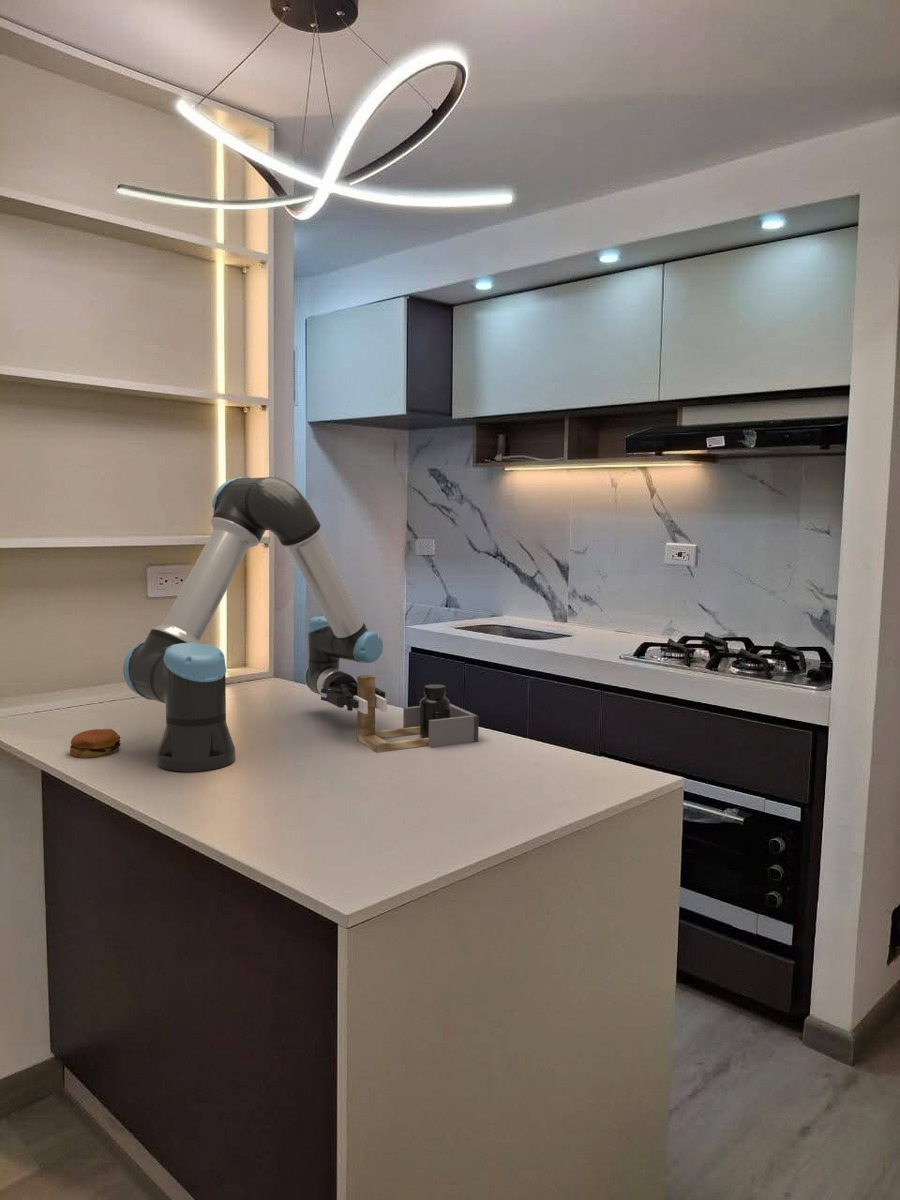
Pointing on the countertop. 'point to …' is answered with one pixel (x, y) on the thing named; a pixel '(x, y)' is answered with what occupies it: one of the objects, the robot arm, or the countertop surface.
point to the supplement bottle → (433, 707)
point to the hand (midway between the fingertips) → (375, 706)
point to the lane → (446, 726)
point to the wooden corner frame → (367, 723)
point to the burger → (94, 743)
